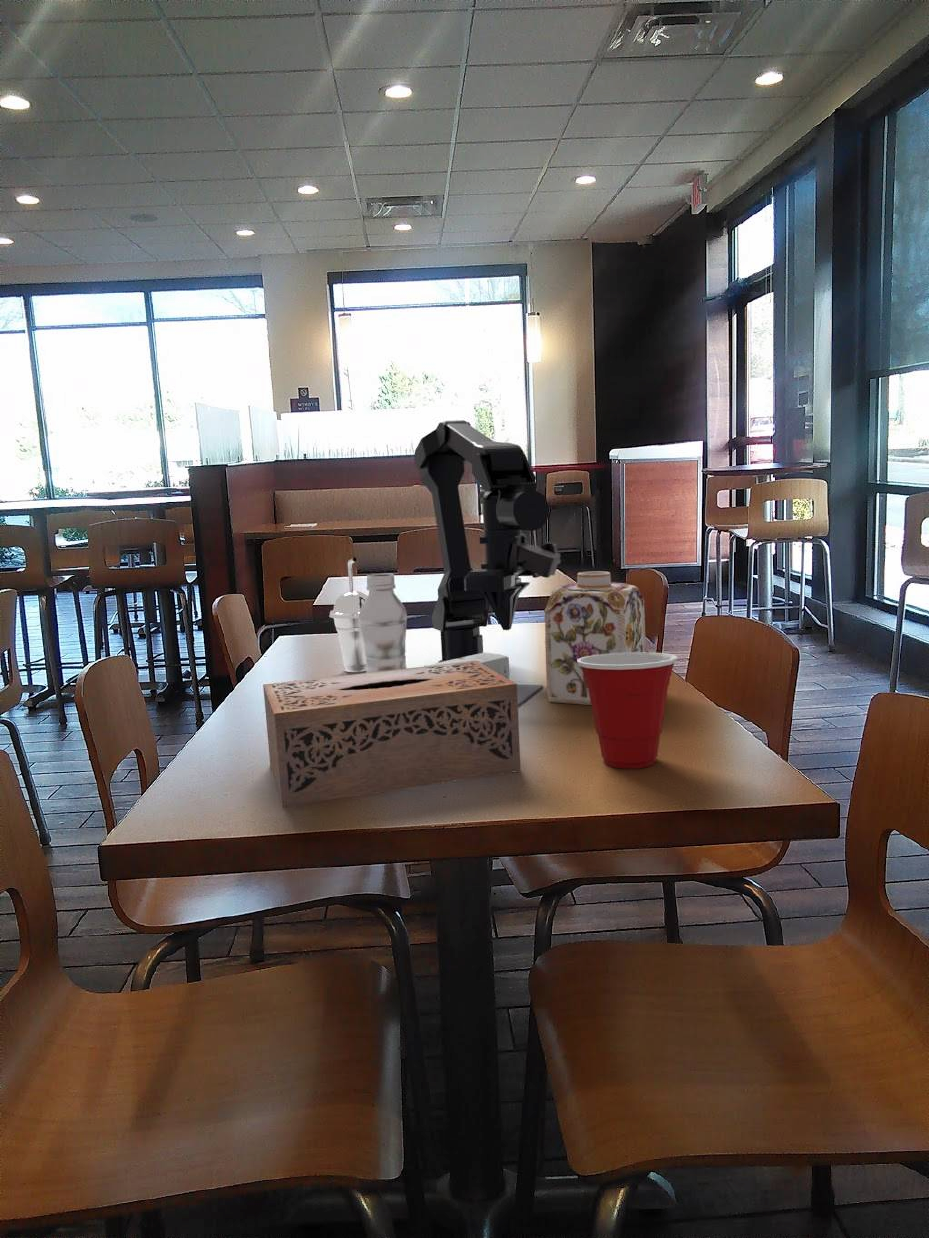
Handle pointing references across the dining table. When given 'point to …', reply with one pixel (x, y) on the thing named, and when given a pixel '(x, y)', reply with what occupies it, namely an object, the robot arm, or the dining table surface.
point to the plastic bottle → (383, 625)
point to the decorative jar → (589, 630)
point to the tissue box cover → (390, 730)
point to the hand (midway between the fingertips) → (507, 629)
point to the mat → (526, 691)
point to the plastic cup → (628, 704)
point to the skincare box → (485, 662)
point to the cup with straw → (350, 626)
